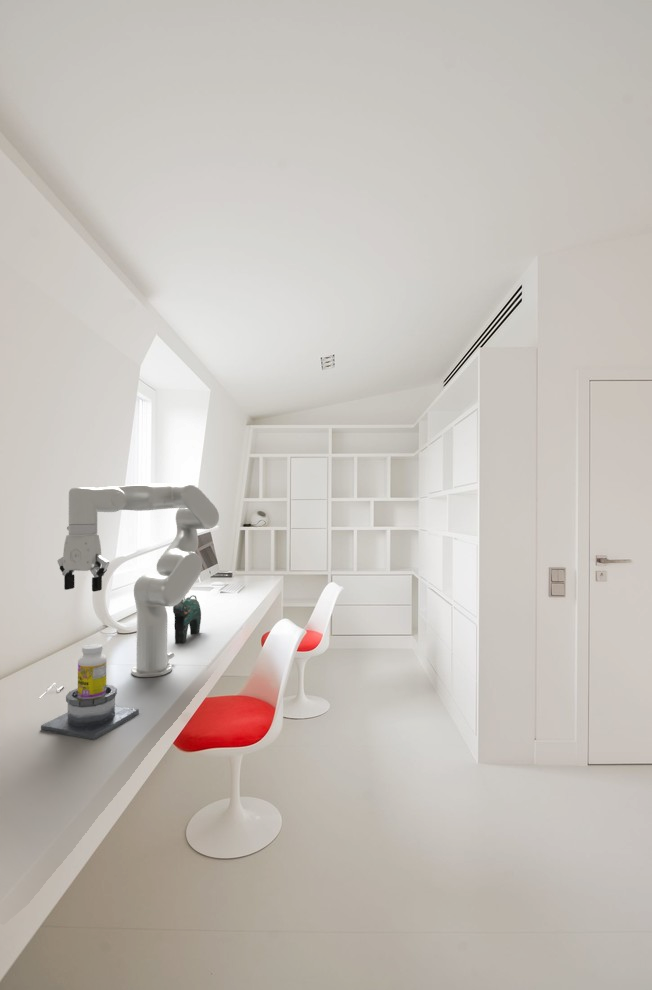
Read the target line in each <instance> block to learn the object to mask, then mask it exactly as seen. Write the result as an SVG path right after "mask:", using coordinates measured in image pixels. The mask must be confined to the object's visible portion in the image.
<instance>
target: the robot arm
mask: <svg viewBox="0 0 652 990" xmlns="http://www.w3.org/2000/svg"><path fill="white" fill-rule="evenodd" d="M166 509H177V511H176V513H175V523H176V536H175V538H174V539H173V541H172V542H171V543H170V544H169V546H168V547H167V548H166V550H165V551H164V552H163V554H162V555H161V556H160V557H159V559H158V560H157V562H156V571H157V573H158V574H156V573H155V574H154V573H149V574H144V575H141V576H140V577H139V578H138V579H137V580H136V582H135V584H134V586H133V596H134V602H135V606H136V607H135V608H136V665H135V666H133V667H132V668H131V675H133V676H134V677H137V678H138V677H139V678H154V677H160V676H164V675H167V674H169V673H170V672H171V671H172V669H173V665H172V664H170V663H169V660H172V659H173V658H174V657H175V654H174V652H169V653H168V612H167V608H166V607H169V608H171V607H173V606H175V605H177V604H178V603H180V602H181V601H182V600H183V599H184V597H185V598H186V596H187V595H188V593H189V592H190V590H191V588H193V586H194V585H195V583H196V582H197V580H198V578H199V577H200V575H201V573H202V570H203V561H202V560H203V559H202V558H201V556H200V554H198V553H196V552H197V550H198V549H199V548H198V547H199V536H198V530H211V529H213V528H215V527H216V526H217V525H218V523H219V520H220V515H219V512H218V509H217V507H216V506H215V504H214V503H213V502H212V501H211V500H210V499H209V497H207V496H206V495H205V493H203V491H202V490H201V489H200V488H199V487H198V486H196V485H195V484H193V483H190V482H183V483H182V482H179V483H177V482H176V483H175V482H174V483H170V482H169V483H145V484H144V483H142V484H134V485H133V484H132V485H124V486H120V485H119V486H96V487H83V486H82V487H78V486H77V487H72V488H70V489H69V491H68V525H67V527H66V530H67V532H68V534H67V535H66V536H65V540H64V545H63V553H62V554H63V555H62V557H60V558H59V559H58V560H57V564H58V566H59V570H60V572H61V573H62V576H63V577H64V579H63V580H64V582H63V583H64V584H63V585H64V588H63V589H64V591H66V590H72V589H74V588H75V574H74V572H75V571H76V572H77V571H78V572H80V571H81V572H83V571H84V572H89V571H90V572H91V574H92V576H93V577H92V578H91V591H92V592H99V591H102V589H103V578H102V577H104V575H105V573H106V572H107V571H108V567H109V565H110V561H109V560H107V559H106V558H104V557H103V556H102V548H101V540H100V536H99V534H98V513H116V512H119V511H136V512H137V511H153V510H154V511H156V510H166ZM197 529H198V530H197ZM188 591H189V592H188Z"/></svg>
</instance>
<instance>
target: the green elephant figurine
mask: <svg viewBox="0 0 652 990" xmlns="http://www.w3.org/2000/svg"><path fill="white" fill-rule="evenodd" d="M189 592H190V590H189V591H188V593H189ZM192 597H194V598H192ZM200 606H201V605H200V603H199V601H198V599H197V596H196V595H190V596H188V597H186V596H185V597H184V598H183V600H182V601H181V602H180V603H178V604H177V605H175V606H172V607H173V608H172V612H173V615H174V624H173V625H174V641H175V642H174V643H175V644H182V645H183V644H185V643H186V642H187V637H188V629H189V630H190V632H189V633H190V634H191V635H198V634H200V629H201V623H202V610H201V609H202V608H201V607H200Z"/></svg>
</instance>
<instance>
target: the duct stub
mask: <svg viewBox="0 0 652 990" xmlns="http://www.w3.org/2000/svg"><path fill="white" fill-rule="evenodd" d="M117 694H118V689H117V688H116V687H115V686H114V685H112V684H106V694H105V695H104V696H102V697H98V698H93V699H79V698H78V687H77V688H75V689H73V690H70V691H69V692H68V693H67V694H66V695H65V701H66V703H67V712H65V713H64V714H61V715H59V716H57V717H56V718H54V719H52V720H49V721H46V723H43V724H41V725H40V731H41V732H49V733H52V734H60V735H64V736H69V737H70V736H71V737H77V738H83V739H88V740H92V741H95V740H97V739H98V738H100V737H102V736H105V734H107V733H109V732H111V731H112V730H114V729H115V728H118V725H119V726H120V725H122V724H123V722H124V723H126V722H127V721H128V719H129V720H130V718H131V719H132V718H134V717H136V716H138V715H139V714H140V713H139V712H140V711H139V710H140V709H139V708H135V707H134V708H133V707H127V706H121V705H120V706H119V705H116V696H117ZM135 715H136V716H135ZM133 716H134V717H133ZM126 720H127V721H126ZM125 721H126V722H125ZM113 728H114V729H113Z"/></svg>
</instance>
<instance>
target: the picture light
mask: <svg viewBox="0 0 652 990" xmlns="http://www.w3.org/2000/svg"><path fill="white" fill-rule="evenodd" d="M52 688H55V692H56V694H60V692H61V690H62V689H65V687H64V685H61V686H60V687H59V688H58V687H57V686H56V682H53V683H52V684H50V685H49V686H48V687H47V688H46V689H45V692H44V693H42V694H41V695H40V696H39V697H38V698H41V697H42V696H43V695H44V694H45V693H46V694H47V693H48V692H49V691H50V690H51V689H52ZM46 694H45V695H46ZM45 695H44V696H45ZM44 696H43V697H44ZM43 697H42V698H43ZM42 698H41V699H42Z"/></svg>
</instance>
